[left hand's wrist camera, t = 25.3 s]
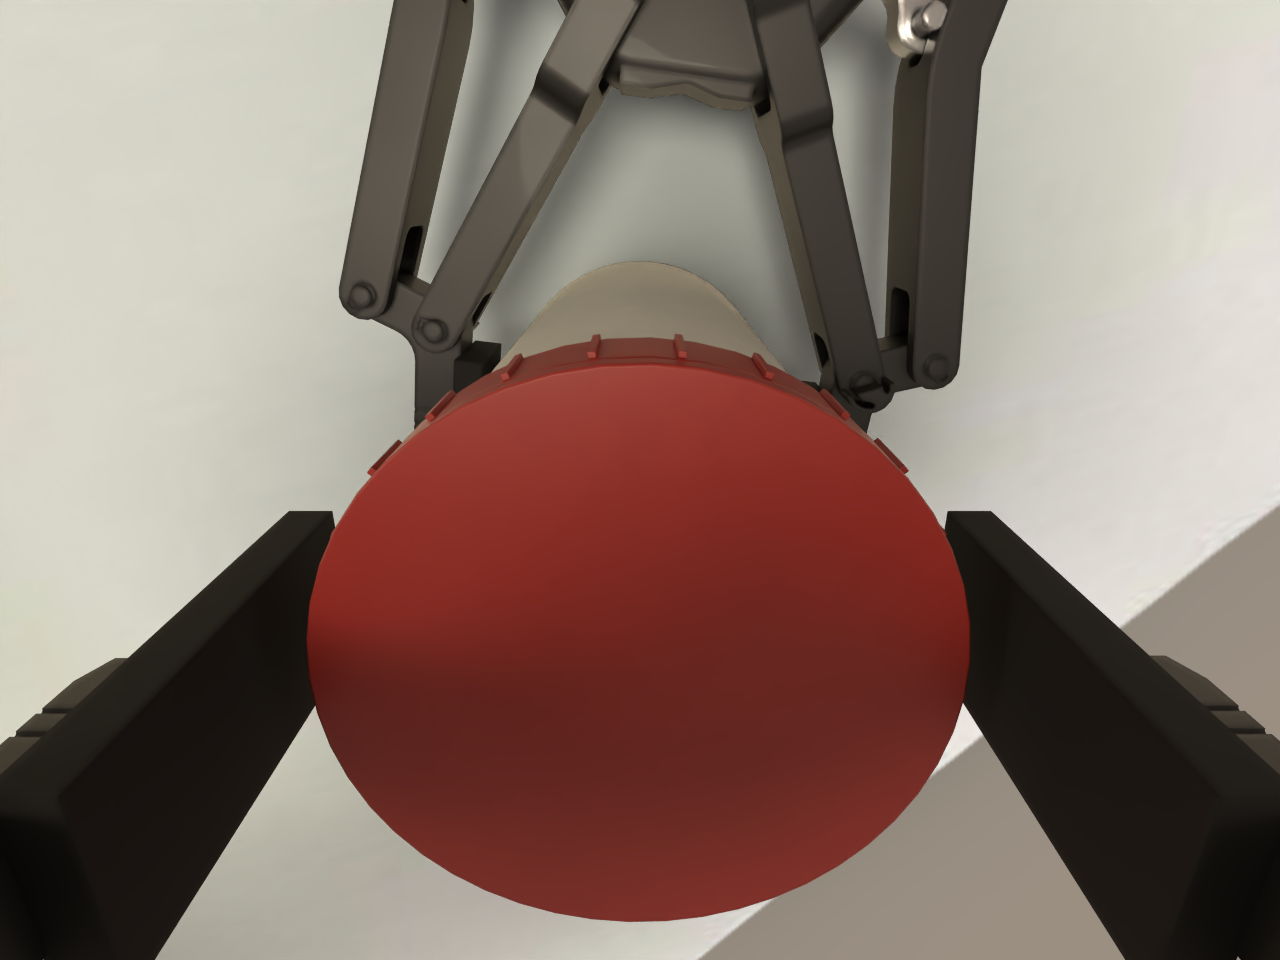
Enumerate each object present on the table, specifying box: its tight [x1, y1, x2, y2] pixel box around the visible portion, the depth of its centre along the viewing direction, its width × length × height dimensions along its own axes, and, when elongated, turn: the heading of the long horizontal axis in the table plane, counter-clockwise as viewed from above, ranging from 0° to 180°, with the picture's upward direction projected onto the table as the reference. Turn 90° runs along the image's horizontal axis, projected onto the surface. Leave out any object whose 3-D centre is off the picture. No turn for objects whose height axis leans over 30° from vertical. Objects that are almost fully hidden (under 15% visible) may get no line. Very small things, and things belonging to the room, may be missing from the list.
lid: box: [307, 334, 970, 922], centre depth 11 cm, size 9×9×2 cm
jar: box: [492, 262, 788, 374], centre depth 19 cm, size 9×9×17 cm
